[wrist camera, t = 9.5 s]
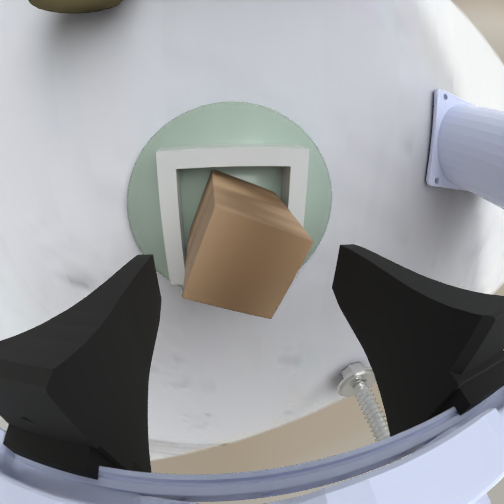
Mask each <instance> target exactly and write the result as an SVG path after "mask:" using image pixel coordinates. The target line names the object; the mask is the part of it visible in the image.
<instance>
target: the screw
mask: <svg viewBox="0 0 504 504" xmlns="http://www.w3.org/2000/svg"><path fill="white" fill-rule="evenodd" d="M341 373H342V376H343V378H344V379H343V380H342V381H341V382H340V383H339V385H338V387H337V391H338V393H339V394H340V395H342V396H348V397H349V396H354V395H355V397H356V398H357V401H358V402H359V405H360V406H362V407H361V410H363V414H364V415H366V416H365V418H366V419H368V420H367V423H370V425H369V427H370V428H372V430H371V432H374V434H373V436H374V437H376V439H375V441H381V440H384V439H386V438H389V437H390V433H389V428H388V425H387V424H386V421H387V420H385V419H384V417H385V416H383V415H382V411H380V410H379V409H380V407H378V405H377V404H378V403H377V402H376V401H375V400H376V398H373V396H374V394H372V393H371V391H372V390H369V388H370V387H371V386H372V385H373V384H374V382H375V381H376V379H375V376H374V373H373V370H372V368H371V367H365V368H363V366H362V364H361V363H360V362H358V363H353V364H349V365H348V366H347V367H346V368H345V369H344V370H343V371H342V372H341ZM400 459H401V458H400ZM400 459H398V460H400ZM398 460H396V461H398ZM396 461H393V462H391V463H394V462H396ZM391 463H389V464H391Z"/></svg>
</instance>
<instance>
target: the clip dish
mask: <svg viewBox="0 0 504 504" xmlns="http://www.w3.org/2000/svg"><path fill="white" fill-rule="evenodd" d="M212 169H214V170H217V171H220V172H222V173H225V174H228V175H231V176H234V177H236V178H239V179H242V180H245V181H247V182H250V183H253V184H255V185H258V186H260V187H263V188H266V189H268V190H271V191H273V192H275V193H276V194H277V196H278V197H279V198H280V199H281V201H282V202H283V203H284V204H285V205H286V207H287V208H288V209H289V210H290V212H291V213H292V214H293V215H294V217H295V218H296V219H297V220H298V222H299V223H300V224H301V226H302V227H303V228H304V229H305V231H306V232H307V233H308V235H309V236H310V237H311V238H312V240H313V241H314V243H313V244H312V246H311V248H310V250H309V252H308V254H307V256H306V258H305V259H304V261H303V263H302V265H303V264H304V263H305V262H306V261H307V260H308V259H309V258H310V256H311V255H312V254H313V253H314V251H315V249H316V248H317V246H318V245H319V243H320V241H321V239H322V237H323V235H324V233H325V230H326V227H327V224H328V221H329V217H330V211H331V202H332V191H331V181H330V177H329V172H328V169H327V166H326V163H325V161H324V158H323V156H322V155H321V153H320V151H319V149H318V147H317V146H316V144H315V143H314V142H313V140H312V139H311V138H310V136H309V135H308V134H307V133H306V132H305V131H304V130H303V129H302V128H301V127H300V126H298V125H297V124H296V123H294V122H293V121H292V120H290V119H289V118H287V117H286V116H284V115H282V114H280V113H278V112H276V111H274V110H271V109H269V108H266V107H263V106H260V105H255V104H250V103H243V102H222V103H214V104H209V105H205V106H201V107H198V108H195V109H193V110H190V111H188V112H186V113H184V114H182V115H180V116H178V117H176V118H175V119H173V120H172V121H170V122H169V123H168V124H166V125H165V126H164V127H162V128H161V129H160V130H159V131H158V132H157V133H156V134H155V135H154V136H153V137H152V138H151V139H150V141H149V142H148V143H147V145H146V146H145V148H144V149H143V150H142V152H141V154H140V156H139V157H138V159H137V161H136V163H135V166H134V168H133V171H132V174H131V177H130V182H129V186H128V194H127V210H128V219H129V223H130V228H131V231H132V233H133V236H134V239H135V241H136V243H137V245H138V247H139V249H140V250H141V252H142V253H143V255H149V254H153V256H154V262H155V268H156V270H157V271H158V272H160V273H161V274H162V275H163V276H164V277H166V278H167V279H169V280H170V284H171V285H179V286H181V287H183V284H184V275H185V266H186V257H187V249H188V241H189V233H190V228H191V225H192V222H193V219H194V216H195V214H196V211H197V208H198V205H199V203H200V200H201V197H202V194H203V192H204V189H205V186H206V184H207V181H208V179H209V176H210V173H211V171H212ZM302 265H301V266H302ZM298 272H299V270H298ZM298 272H297V274H296V276H295V277H298Z"/></svg>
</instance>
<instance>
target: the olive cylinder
mask: <svg viewBox="0 0 504 504" xmlns="http://www.w3.org/2000/svg"><path fill="white" fill-rule="evenodd" d="M122 1H123V0H29V2H30V3H31V4H32V5H33V6H35V7H37V8H39V9H43V10H46V11H51V12H58V13H87V12H94V11H101V10H104V9H108V8H111V7H113V6H116V5H118V4H120V3H121V2H122Z"/></svg>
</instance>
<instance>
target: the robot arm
mask: <svg viewBox="0 0 504 504" xmlns="http://www.w3.org/2000/svg"><path fill="white" fill-rule="evenodd" d="M443 96H444V97H443ZM435 179H436V181H435ZM426 182H427V184H428V185H430V186H435V187H443V188H450V189H457V190H464V191H470V192H472V193H474V194H476V195H478V196H480V197H482V198H484V199H486V200H488V201H490V202H492V203H493V204H495V205H497V206H499V207H501V208H502V209H504V112H503V111H498V110H493V109H488V108H483V107H477V106H475V105H473V104H471V103H469V102H467V101H465V100H463V99H461V98H459V97H457V96H455V95H453V94H451V93H448V92H446V91H444V90H441V89H436V90H435V93H434V114H433V128H432V139H431V148H430V156H429V163H428V170H427V177H426ZM332 289H333V291H334V294H335V297H336V299H337V302H338V304H339V306H340V308H341V310H342V312H343V314H344V316H345V317H346V319H347V321H348V323H349V324H350V326H351V328H352V330H353V331H354V333H355V335H356V337H357V338H358V340H359V342H360V344H361V345H362V347H363V349H364V351H365V353H366V355H367V358H368V360H369V363H370V365H371V368H372V370H373V373H374V376H375V379H376V382H377V384H378V388H379V391H380V394H381V398H382V402H383V405H384V409H385V413H386V417H387V423H388V428H389V433H390V437H389V438H386V439H384V440H381V441H378V442H376V443H373V444H370V445H367V446H365V447H361V448H358V449H355V450H352V451H349V452H345V453H342V454H338V455H335V456H331V457H327V458H323V459H319V460H315V461H311V462H306V463H301V464H296V465H291V466H285V467H280V468H273V469H266V470H259V471H250V472H240V473H227V474H202V475H183V474H160V473H151V466H150V455H149V443H148V382H149V372H150V366H151V361H152V355H153V350H154V346H155V341H156V336H157V331H158V326H159V321H160V311H161V295H160V290H159V284H158V279H157V274H156V268H155V262H154V256H153V254H149V255H137V256H136V257H134V258H133V259H132V260H130V261H129V262H128V263H127V264H126V265H124V266H123V267H122V268H121V269H120V270H119V271H117V272H116V273H115V274H114V275H113V276H112V277H111V278H109V279H108V280H107V281H106V282H104V283H103V284H102V285H101V286H99V287H98V288H97V289H96V290H94V291H93V292H92V293H91V294H89V295H88V296H87V297H85V298H84V299H83V300H81V301H80V302H78V303H77V304H75V305H74V306H72V307H71V308H69V309H68V310H66V311H64V312H63V313H61V314H59V315H57V316H55V317H54V318H52V319H50V320H48V321H47V322H45V323H43V324H41V325H39V326H37V327H35V328H33V329H30V330H28V331H26V332H23V333H21V334H19V335H16V336H13V337H10V338H8V339H5V340H2V341H0V416H1V417H2V418H3V419H4V420H5V421H6V422H7V423H8V424H9V425H8V428H7V431H5V430H3V429H2V428H0V504H198V503H193V502H215V501H234V500H245V499H255V498H263V497H270V496H277V495H283V494H288V493H293V492H298V491H303V490H308V489H312V488H316V487H320V486H324V485H328V484H331V483H335V482H338V481H342V480H345V479H348V478H351V477H354V476H357V475H360V474H363V473H366V472H368V471H371V470H374V469H376V468H379V467H381V466H384V465H386V464H389V463H391V462H393V461H396V460H398V459H400V458H402V457H404V456H407V455H409V454H411V453H412V454H411V455H409V456H407V457H405V458H403V459H400V460H398V461H396V462H394V463H391V464H389V465H387V466H384V467H382V468H380V469H377V470H374V471H371V472H369V473H366V474H363V475H361V476H358V477H355V478H353V479H350V480H347V481H344V482H342V483H339V484H336V485H333V486H329V487H326V488H323V489H321V490H318V491H316V492H312V493H309V494H306V495H303V496H299V497H294V498H290V499H286V500H281V501H276V502H270V503H265V504H491V501H490V499H489V497H488V495H487V492H488V491H489V490H490V489H491V488H492V487H494V486H495V485H496V484H497V483H498V482H499V481H500V480H501V479H502V478H503V477H504V350H503V349H504V296H499V295H490V294H484V293H478V292H473V291H469V290H465V289H461V288H457V287H454V286H450V285H447V284H444V283H441V282H438V281H435V280H433V279H430V278H427V277H425V276H422V275H420V274H418V273H415V272H413V271H411V270H409V269H407V268H404V267H402V266H400V265H398V264H396V263H394V262H392V261H390V260H388V259H386V258H384V257H382V256H380V255H378V254H376V253H374V252H372V251H369V250H367V249H365V248H362V247H360V246H357V245H354V244H351V245H340V248H339V254H338V260H337V265H336V270H335V276H334V281H333V286H332Z"/></svg>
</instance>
